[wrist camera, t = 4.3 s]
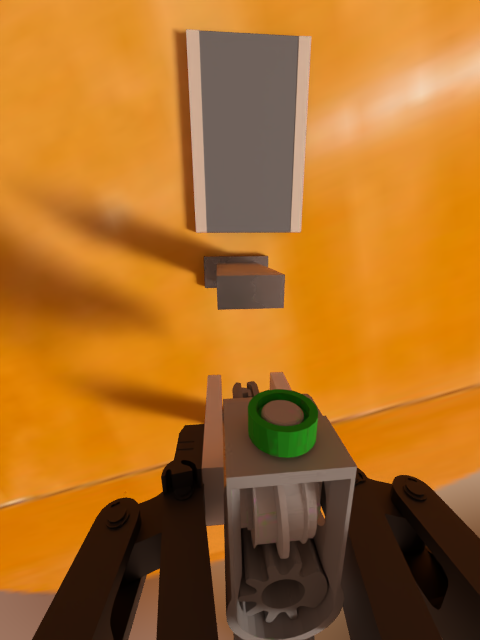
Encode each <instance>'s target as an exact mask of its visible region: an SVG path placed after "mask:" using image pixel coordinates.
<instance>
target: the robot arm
mask: <svg viewBox="0 0 480 640" xmlns="http://www.w3.org/2000/svg"><path fill="white" fill-rule="evenodd" d="M274 389H285V390H291V388H290V386H289V384H288V382H287V380H286V378H285V376H284V374H283V372H275V373H270V390H274ZM291 391H292V390H291ZM161 478H162V487H163V492H162V493H160V494H159V495H158V496H156V497H154V498H152V499H150V500H148V501H145V502H142V503H140V504H138V503H137V502H136V501H135V500H134V499H131V498H120V499H117V500H115V501H113V502H111V503H109V504H108V505H107V506H106V507H104V508H103V509H102V510H101V512H100V513H99V515H98V516H97V518H96V519H95V521H94V523H93V525H92V527H91V529H90V531H89V533H88V535H87V536H86V538H85V540H84V542H83V544H82V546H81V548H80V550H79V552H78V554H77V555H76V557H75V559H74V561H73V563H72V565H71V567H70V569H69V571H68V572H67V574H66V576H65V578H64V580H63V582H62V584H61V586H60V588H59V590H58V591H57V593H56V595H55V597H54V599H53V601H52V603H51V605H50V607H49V608H48V610H47V612H46V614H45V616H44V618H43V620H42V622H41V624H40V626H39V628H38V629H37V631H36V633H35V635H34V637H33V639H32V640H128V638H129V635H130V631H131V628H132V624H133V620H134V617H135V614H136V610H137V607H138V603H139V600H140V596H141V593H142V589H143V586H144V582H145V579H146V575H147V574H149V573H151V572H153V571H155V570H157V569H159V568H160V577H159V599H158V620H157V640H218V632H217V623H216V614H215V604H214V596H213V586H212V576H211V567H210V557H209V548H208V539H207V529H206V526H211V525H222V524H224V461H223V425H222V390H221V375H208V384H207V398H206V413H205V424H199V425H185V426H184V428H183V429H182V430H181V432H180V433H179V438H178V444H177V448H176V453H175V458H174V460H173V461H172V462H170V463H169V464H167V466H166V467H165V468H164V470H163V472H162V476H161ZM318 485H319V494H320V508H321V507H322V509H323V512H324V514H325V520H326V509H327V505H326V493H325V485H324V481H321V482H318ZM341 587H342V590H343V594H344V602H343V609H344V614H345V618H346V622H347V626H348V630H349V635H350V639H351V640H442V639H443V640H480V538H478V537H477V535H476V534H475V533H474V532H473V531H472V530H471V529H470V528H469V527H468V526H467V525H466V524H465V523H464V522H463V521H462V520H461V519H460V518H459V517H458V516H457V515H456V514H455V513H454V511H452V509H451V508H449V506H448V505H447V504H446V503H445V502H444V501H443V500H442V499H441V498H440V497H439V496H438V495H437V494H436V493H435V492H434V491H433V490H432V489H431V488H430V487H429V486H428V485H427V484H425V483H424V482H423V481H421V480H419V479H417V478H415V477H411V476H408V475H399V476H397V477H395V479H394V480H393V483H392V484H389V483H384V482H379V481H375V480H372V479H369V478H367V477H366V475H365V474H364V473H363V472H362V471H361V470H360V469H359V468H357V471H356V478H355V485H354V492H353V499H352V506H351V514H350V521H349V528H348V535H347V542H346V549H345V556H344V563H343V571H342V578H341ZM441 637H442V638H441Z"/></svg>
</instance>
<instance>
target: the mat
mask: <svg viewBox="0 0 480 640" xmlns="http://www.w3.org/2000/svg"><path fill="white" fill-rule="evenodd" d="M186 39H187V59H188V79H189V100H190V120H191V140H192V161H193V181H194V201H195V222H196V233H240V232H301V219H302V200H303V181H304V163H305V144H306V125H307V107H308V88H309V70H310V51H311V36H286V35H268V34H250V33H232V32H215V31H199V30H188V29H186Z"/></svg>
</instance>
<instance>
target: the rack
mask: <svg viewBox="0 0 480 640" xmlns="http://www.w3.org/2000/svg"><path fill="white" fill-rule="evenodd" d="M204 272H205V288H217V302H218V310H221V309H261V308H284V284H285V275H284V274H282V273H279V272H277V271H275V270H272V269H270V268H268V256H211V257H204ZM222 425H223V461H224V489H225V486H226V460H225V433H224V410H222Z"/></svg>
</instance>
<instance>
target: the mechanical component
mask: <svg viewBox="0 0 480 640" xmlns="http://www.w3.org/2000/svg"><path fill="white" fill-rule="evenodd" d="M223 405H224V433H225V460H226V486H225V489H224V537H225V581H226V616H227V622H228V625H229V627H230V629H231V630H232V631H233V633H234V640H314V635H315V634H317V633H319V632H321V631H322V630H324V629H325V628H326V627H328V626H329V625H330V624H331V623H332V622H333V621H334V620H335V619H336V617H337V616H338V615H339V613H340V611H341V609H342V607H343V602H344V594H343V590H342V587H341V578H342V571H343V563H344V556H345V549H346V542H347V535H348V528H349V521H350V514H351V506H352V499H353V492H354V485H355V478H356V471H357V466H356V464H355V462H354V461H353V459H352V457H351V456H350V454H349V453H348V451H347V449H346V448H345V446H344V444H343V443H342V441H341V440H340V438H339V436H338V435H337V433H336V432H335V430H334V428H333V427H332V425H331V423H330V422H329V420H328V419H327V417H326V416H323V415H322V414H321V412H320V411H319V409H318V407H317V406H316V404H315V402H314V401H313V399H312V397H310V396H309V395H308V394H300V393H297V392H295V391H291V390H285V389H274V390H267V391H264V392H261V393H259V390H258V387H257V384H256V383H255V382H253V381H251V382H248V383H247V388H241V383H236V384H235V385H234V387H233V399H223ZM321 481H324V485H325V493H326V505H327V509H326V520H325V519H324V517H323V515H322V513H321V511H320V494H319V485H318V482H321Z"/></svg>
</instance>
